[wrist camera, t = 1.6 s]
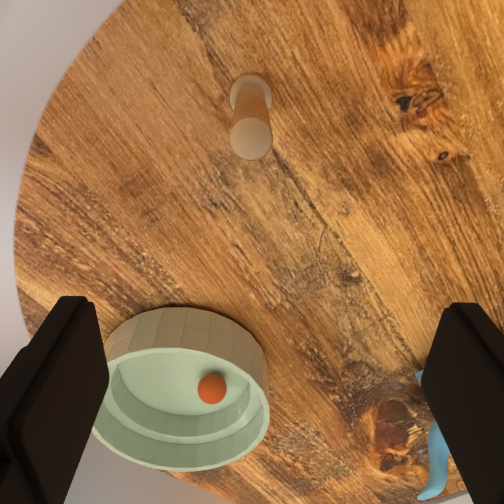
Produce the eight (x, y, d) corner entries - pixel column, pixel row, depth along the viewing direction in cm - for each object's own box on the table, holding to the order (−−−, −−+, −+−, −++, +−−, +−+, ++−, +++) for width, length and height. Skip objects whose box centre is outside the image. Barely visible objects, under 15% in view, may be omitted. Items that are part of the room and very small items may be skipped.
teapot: (567, 386, 44) (657, 491, 34) (412, 443, 49) (452, 549, 39) (528, 288, 37) (627, 384, 28) (353, 366, 42) (384, 470, 33)
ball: (196, 384, 43) (193, 408, 40) (202, 364, 41) (198, 388, 39) (224, 389, 43) (222, 413, 41) (230, 370, 42) (229, 393, 39)
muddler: (225, 111, 29) (212, 162, 19) (235, 67, 28) (226, 97, 17) (265, 121, 30) (273, 177, 19) (276, 79, 28) (292, 115, 18)
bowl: (98, 407, 45) (78, 457, 40) (109, 287, 37) (86, 330, 32) (245, 431, 48) (245, 481, 42) (287, 322, 39) (293, 368, 34)
